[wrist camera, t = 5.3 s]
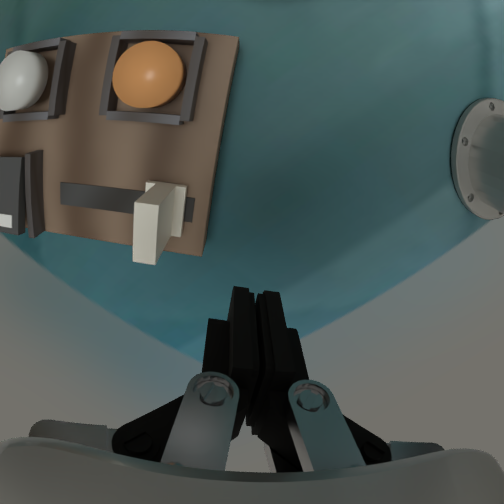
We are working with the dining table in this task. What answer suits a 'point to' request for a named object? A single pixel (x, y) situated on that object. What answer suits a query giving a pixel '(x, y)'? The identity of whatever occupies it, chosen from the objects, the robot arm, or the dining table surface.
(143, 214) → the cream stepped block
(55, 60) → the panel
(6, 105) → the grey button
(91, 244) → the dining table surface
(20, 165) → the rocker
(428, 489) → the robot arm
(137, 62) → the orange button
